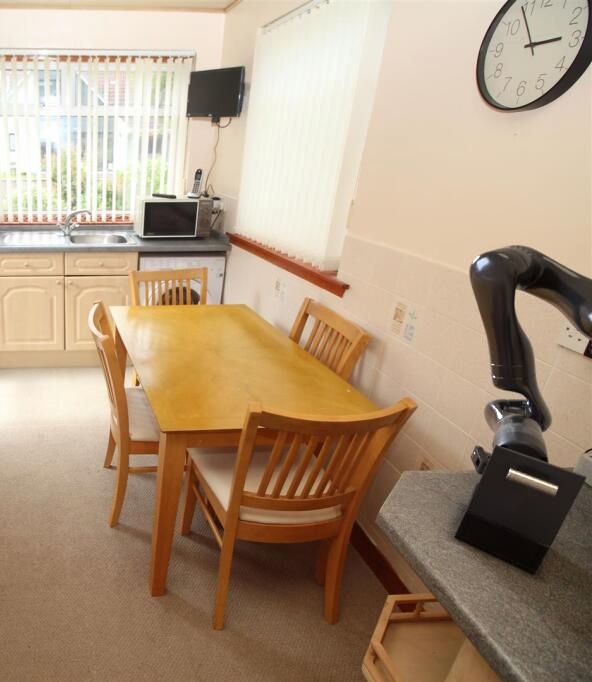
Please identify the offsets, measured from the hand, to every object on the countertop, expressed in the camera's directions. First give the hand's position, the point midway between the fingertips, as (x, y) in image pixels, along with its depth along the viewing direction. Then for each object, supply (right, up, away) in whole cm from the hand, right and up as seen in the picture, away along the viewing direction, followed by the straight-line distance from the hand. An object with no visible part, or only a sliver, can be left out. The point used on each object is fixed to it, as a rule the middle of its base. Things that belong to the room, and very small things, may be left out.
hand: (522, 494), depth 77 cm
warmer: (+1, -9, +6) cm, 11 cm away
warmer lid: (-2, +1, -2) cm, 2 cm away
